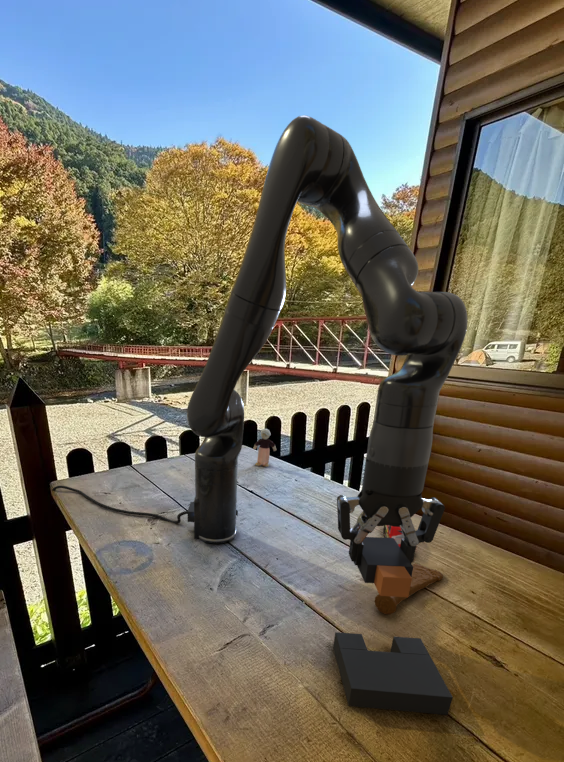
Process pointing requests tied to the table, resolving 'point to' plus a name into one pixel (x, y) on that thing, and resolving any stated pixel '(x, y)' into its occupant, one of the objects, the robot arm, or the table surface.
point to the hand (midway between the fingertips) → (379, 563)
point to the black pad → (391, 676)
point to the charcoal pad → (386, 567)
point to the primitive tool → (419, 581)
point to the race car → (393, 533)
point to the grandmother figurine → (264, 448)
